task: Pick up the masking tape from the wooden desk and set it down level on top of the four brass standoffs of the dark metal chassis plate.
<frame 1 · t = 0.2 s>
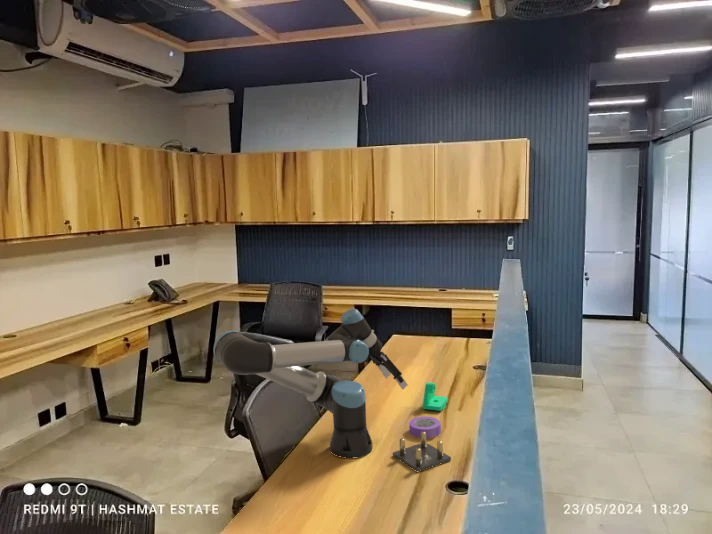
hand: (396, 381, 213), 15 cm above the table, tool tilted 35°, fingers open, 13 cm apart
camera mount: (436, 407, 225), on the table
chassis: (421, 458, 180), on the table
masking tape: (425, 432, 201), on the table
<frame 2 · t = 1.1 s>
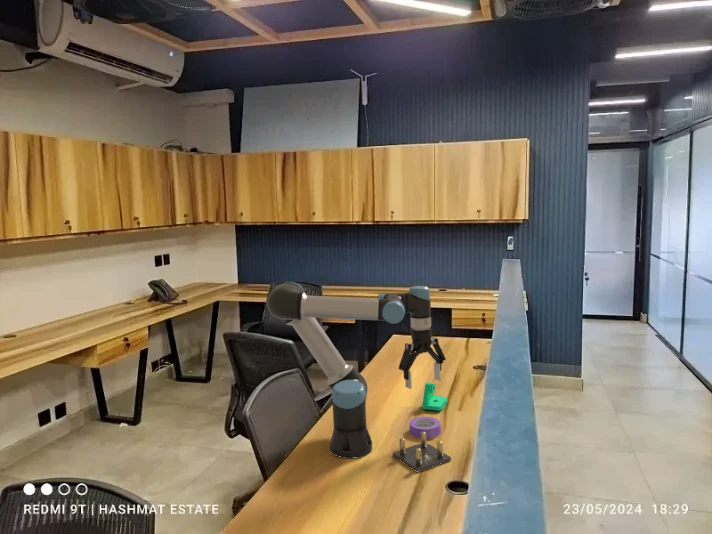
hand: (423, 383, 199), 19 cm above the table, tool pointing down, fingers open, 13 cm apart
nothing on the table moved.
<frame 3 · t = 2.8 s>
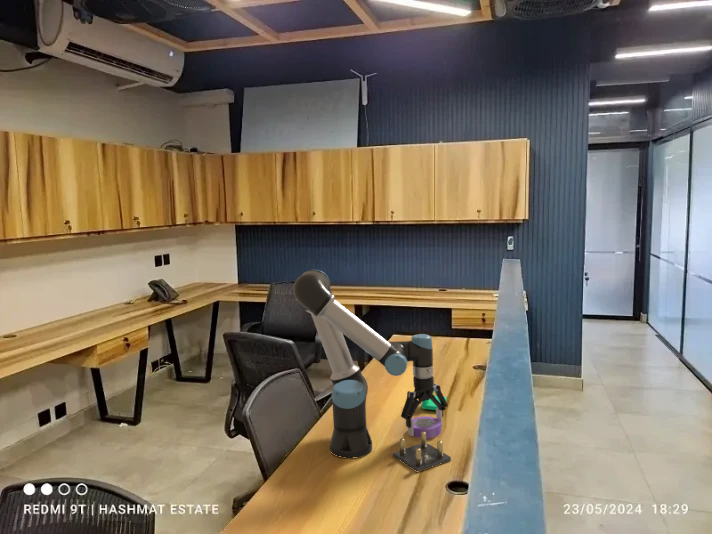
hand: (425, 430, 201), 0 cm above the table, tool pointing down, fingers open, 13 cm apart
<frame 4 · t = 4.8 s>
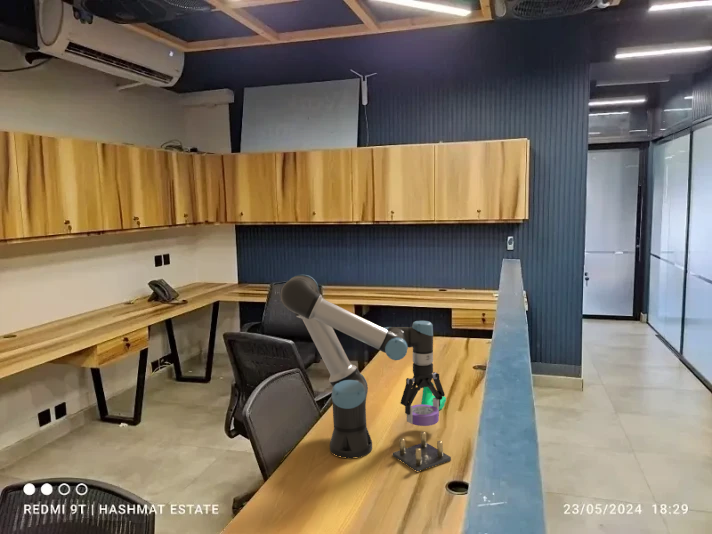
hand: (423, 418, 200), 5 cm above the table, tool pointing down, fingers closed on masking tape, 12 cm apart
masking tape: (422, 420, 201), point 4 cm above the table, touching gripper
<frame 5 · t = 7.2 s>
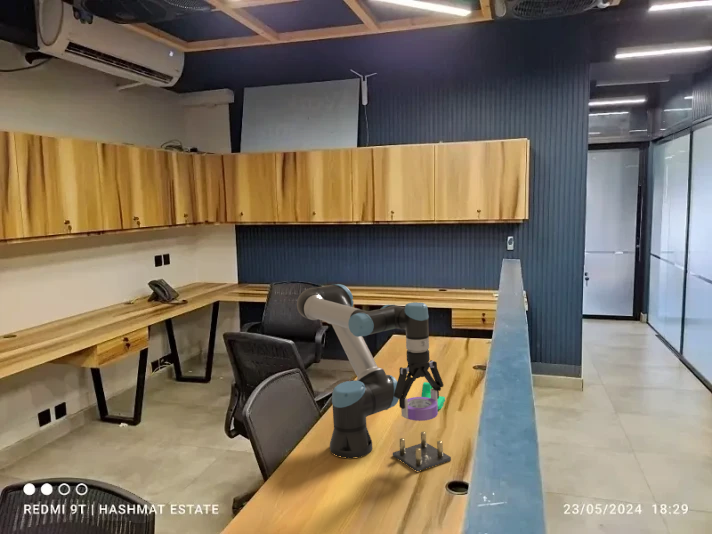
hand: (419, 412, 178), 16 cm above the table, tool pointing down, fingers closed on masking tape, 12 cm apart
masking tape: (420, 414, 179), point 15 cm above the table, touching gripper
when the fingers open (7 cm above the table, at t = 9.8 s): masking tape stays where it is, resting on chassis.
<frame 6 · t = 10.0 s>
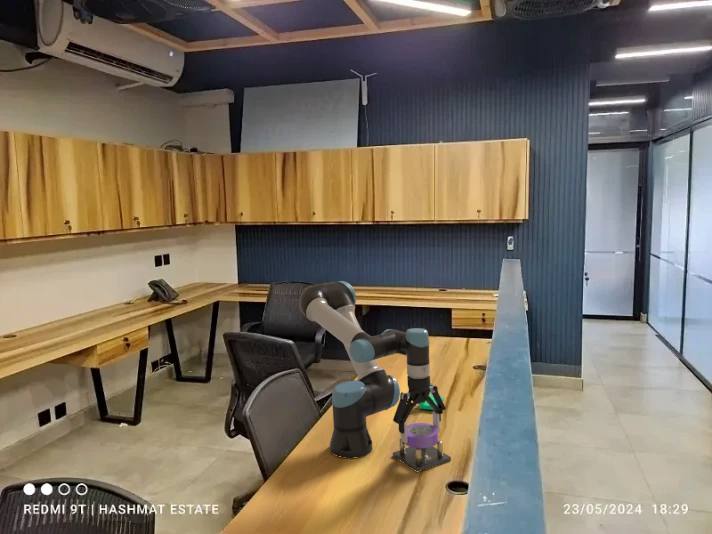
hand: (420, 436, 179), 8 cm above the table, tool pointing down, fingers open, 13 cm apart
masking tape: (420, 441, 180), point 6 cm above the table, touching chassis
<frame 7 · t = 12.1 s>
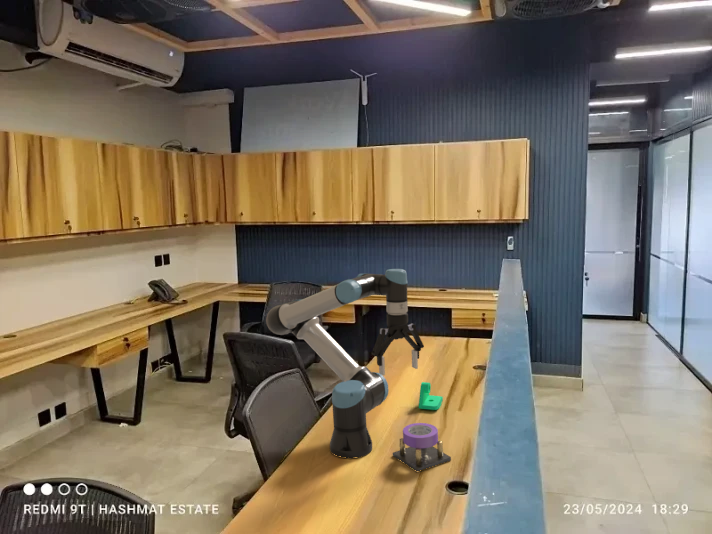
hand: (398, 371, 191), 26 cm above the table, tool pointing down, fingers open, 13 cm apart
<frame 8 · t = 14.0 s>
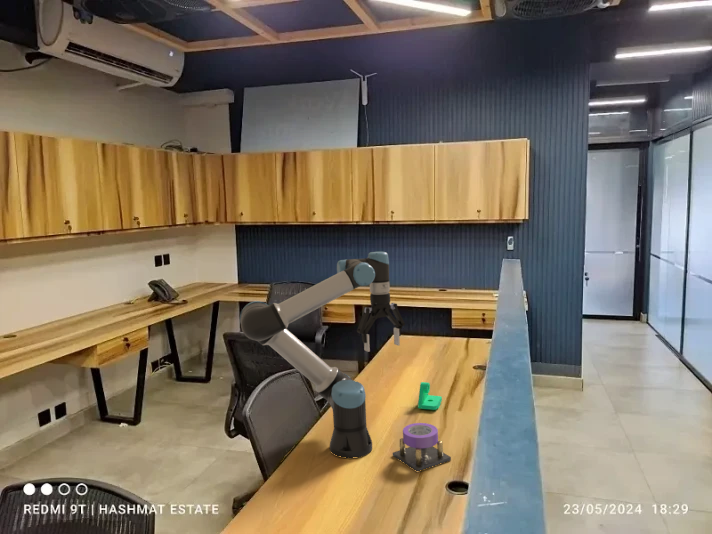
hand: (382, 347, 203), 32 cm above the table, tool pointing down, fingers open, 13 cm apart
at the end: masking tape 0.1 cm off-centre on the chassis, point 6.0 cm above the chassis's base; masking tape tilted 0°; the gripper is holding nothing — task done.
